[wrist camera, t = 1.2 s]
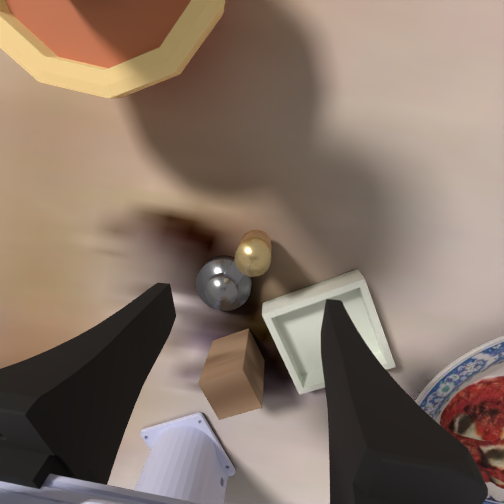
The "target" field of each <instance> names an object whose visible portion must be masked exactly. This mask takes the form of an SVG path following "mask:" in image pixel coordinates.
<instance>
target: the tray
mask: <svg viewBox="0 0 504 504" xmlns="http://www.w3.org/2000/svg"><path fill="white" fill-rule="evenodd" d="M326 299H332V300H341V301H342V302H343V305H344V307H345V309H346V311H347V313H348V314H349V316H350V318H351V320H352V322H353V323H354V325H355V327H356V328H357V330H358V332H359V333H360V335H361V336H362V338H363V340H364V341H365V343H366V344H367V346H368V347H369V348H370V350H371V351H372V353H373V354H374V355H375V357H376V358H377V359H378V361H379V362H380V363H381V365H382V366H383V367H384V368H385V370H387V369H390V368H394V367H396V366H395V363H394V360H393V357H392V354H391V351H390V349H389V346H388V343H387V340H386V337H385V334H384V332H383V329H382V326H381V323H380V320H379V317H378V315H377V312H376V309H375V306H374V303H373V300H372V298H371V295H370V292H369V289H368V286H367V283H366V281H365V278H364V277H363V276H362V274H361V273H360V272H359V271H358V269H356V270H353V271H350V272H347V273H345V274H342V275H339V276H336V277H333V278H331V279H328V280H325V281H322V282H319V283H317V284H314V285H311V286H308V287H306V288H303V289H300V290H297V291H294V292H292V293H289V294H286V295H283V296H280V297H278V298H275V299H272V300H269V301H266V302H264V303H263V308H262V316H263V318H264V320H265V322H266V325H267V327H268V329H269V331H270V333H271V335H272V337H273V339H274V342H275V344H276V346H277V348H278V350H279V352H280V354H281V356H282V359H283V361H284V363H285V365H286V367H287V369H288V371H289V374H290V376H291V378H292V380H293V382H294V384H295V386H296V388H297V391H298V393H299V395H300V394H304V393H307V392H311V391H314V390H318V389H321V388H325V382H324V375H323V367H322V359H321V327H322V321H323V315H324V309H325V303H326Z"/></svg>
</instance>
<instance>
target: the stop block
mask: <svg viewBox="0 0 504 504" xmlns="http://www.w3.org/2000/svg"><path fill="white" fill-rule="evenodd" d="M264 362H265V360H264V358H263V356H262V354H261V352H260V350H259V348H258V346H257V344H256V342H255V340H254V338H253V336H252V334H251V332H250V330H249V329H246V330H243V331H240V332H237V333H234V334H231V335H228V336H225V337H222V338H220V339H217V340H214V341H213V342H212V345H211V348H210V351H209V354H208V357H207V360H206V362H205V365H204V368H203V371H202V374H201V377H200V380H199V383H198V384H199V386H200V387H201V389H202V391H203V393H204V394H205V396H206V398H207V400H208V401H209V403H210V405H211V407H212V408H213V410H214V412H215V414H216V415H217V417H218V419H219V420H220V419H224V418H227V417H231V416H234V415H238V414H241V413H245V412H248V411H252V410H255V409H259V408H262V402H263V382H264Z"/></svg>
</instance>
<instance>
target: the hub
mask: <svg viewBox="0 0 504 504" xmlns="http://www.w3.org/2000/svg"><path fill="white" fill-rule="evenodd" d="M234 259H235V258H234V257H231V256H217V257H214V258H212V259H210V260H209V261H207V262H206V263H205V264H204V266H203V267H202V269H201V270H200V272H199V273H198V276H197V279H196V288H197V292H198V294H199V296H200V298H201V299H202V300H203V302H204V303H206V304H207V305H208V306H210V307H212V308H214V309H217V310H221V311H229V310H233V309H236V308H238V307H240V306H241V305H243V304H244V303H245V302H246V300H247V299H248V297H249V295H250V291H251V285H252V278H251V277H250V276H246V275H244V276H243V277H242V278H241V279H240V281H239V282H238V293H237V296H236V299H235V301H234V302H233V303H232V304H231V305H229V306H227V307H217V306H214V305H212V304H211V303H210V302H209V301H208V300H207V299H206V297H205V292H204V290H205V286H206V284H207V282H208V281H209V279H210V278H211V277H212V276H213V275H214V274H217V273H224V272H225V271H226V270H227V268H228V267H229V266H230V264H231V263H232V262H233V261H234Z"/></svg>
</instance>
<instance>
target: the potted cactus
mask: <svg viewBox="0 0 504 504" xmlns="http://www.w3.org/2000/svg"><path fill="white" fill-rule="evenodd" d="M224 6H225V0H0V48H1V49H2V50H4V51H5V52H6V53H7V54H8V55H9V56H10V57H11V58H13V59H14V60H15V61H16V62H17V63H18V64H19V65H20V66H22V67H23V68H24V69H25V70H26V71H27V72H28V73H29V74H31V75H32V76H33V77H34V78H35V79H36V80H37V81H38V82H41V83H45V84H49V85H54V86H58V87H62V88H67V89H71V90H75V91H79V92H84V93H88V94H92V95H97V96H101V97H105V98H122V97H124V96H127V95H130V94H132V93H135V92H137V91H140V90H142V89H145V88H147V87H150V86H152V85H155V84H157V83H160V82H162V81H165V80H167V79H170V78H173V77H175V76H178V75H180V74H181V73H182V71H183V70H184V68H185V67H186V66H187V64H188V63H189V62H190V60H191V59H192V57H193V56H194V55H195V53H196V52H197V50H198V49H199V48H200V46H201V45H202V43H203V42H204V41H205V39H206V38H207V36H208V35H209V34H210V32H211V31H212V29H213V28H214V27H215V25H216V24H217V22H218V21H219V20H220V18H221V17H222V15H223V13H224Z"/></svg>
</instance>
